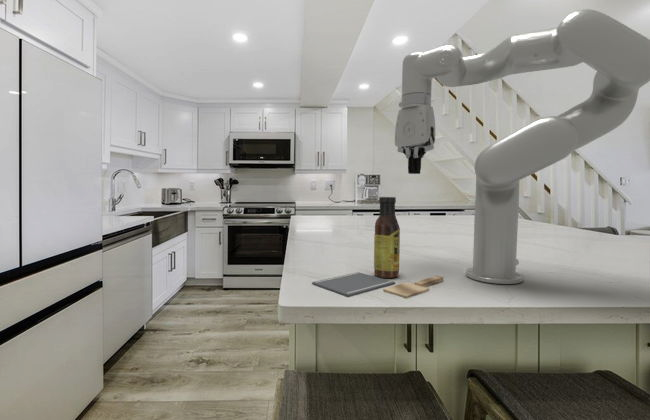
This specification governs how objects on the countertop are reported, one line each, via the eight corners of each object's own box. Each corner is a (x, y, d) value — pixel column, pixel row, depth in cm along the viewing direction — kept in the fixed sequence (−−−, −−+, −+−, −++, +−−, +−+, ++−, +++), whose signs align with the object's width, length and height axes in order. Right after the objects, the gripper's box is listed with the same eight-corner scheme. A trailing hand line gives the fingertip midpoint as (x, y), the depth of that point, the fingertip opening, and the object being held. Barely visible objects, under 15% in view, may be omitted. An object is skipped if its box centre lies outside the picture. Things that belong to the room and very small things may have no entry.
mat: (358, 273, 89) (358, 271, 89) (395, 283, 80) (395, 281, 80) (311, 283, 79) (312, 281, 79) (348, 296, 70) (348, 294, 70)
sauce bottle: (399, 279, 83) (400, 197, 82) (373, 278, 84) (374, 197, 83) (399, 273, 90) (400, 196, 88) (374, 272, 91) (375, 196, 89)
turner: (429, 277, 85) (429, 273, 85) (451, 283, 80) (451, 278, 80) (383, 291, 74) (383, 287, 74) (406, 299, 70) (406, 294, 70)
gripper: (384, 106, 94) (383, 173, 96) (433, 95, 83) (430, 172, 84) (402, 110, 99) (400, 174, 100) (449, 100, 88) (447, 173, 89)
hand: (414, 173), depth 92 cm, fingers closed
